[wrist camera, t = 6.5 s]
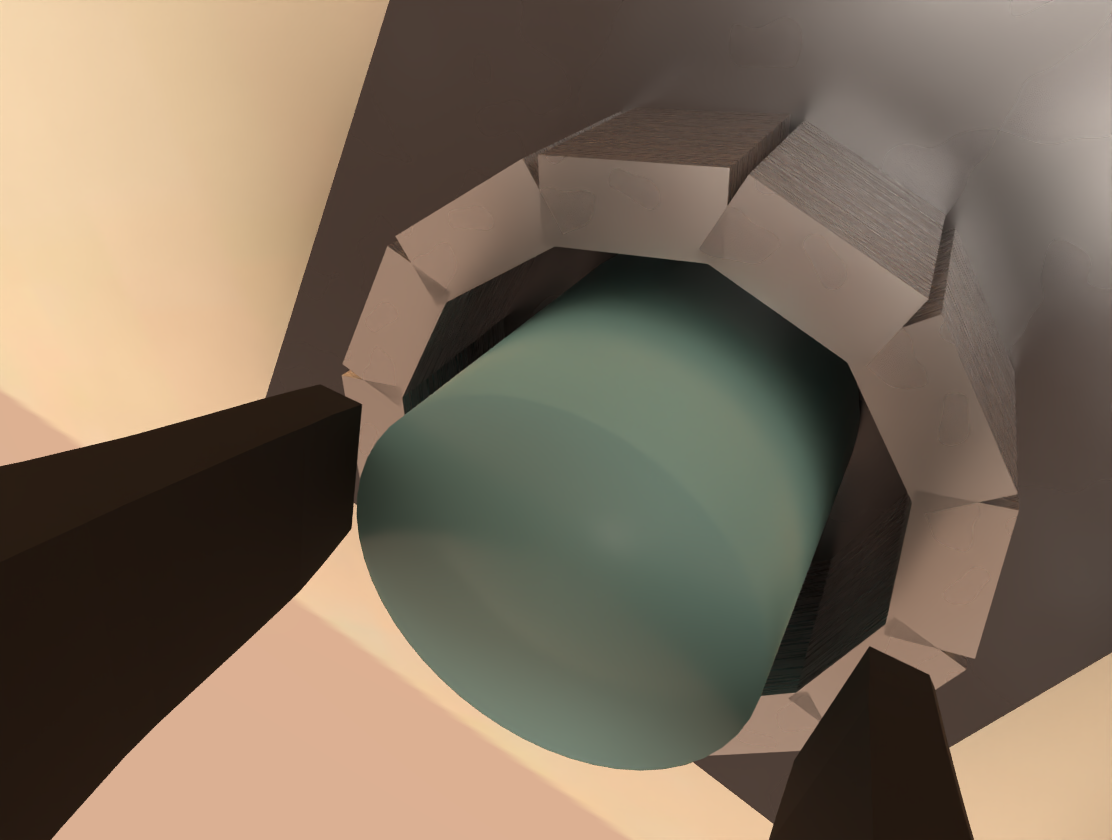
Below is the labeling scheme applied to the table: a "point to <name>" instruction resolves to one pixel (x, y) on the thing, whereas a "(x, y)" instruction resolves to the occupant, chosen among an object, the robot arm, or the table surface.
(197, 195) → the table surface
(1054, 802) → the table surface
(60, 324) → the table surface
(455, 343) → the square base ring holder
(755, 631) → the teal rounded cylinder
